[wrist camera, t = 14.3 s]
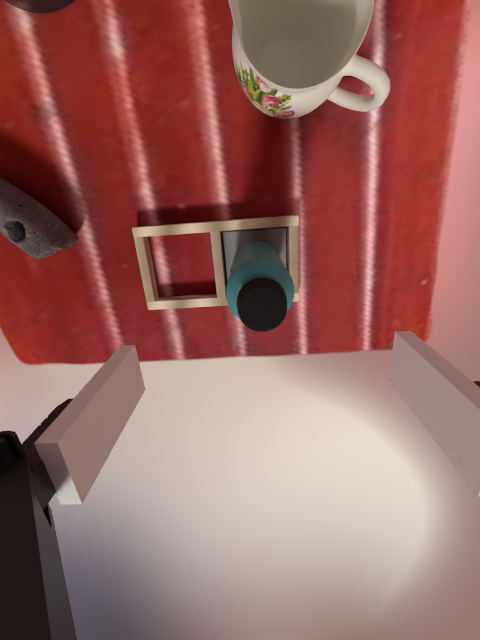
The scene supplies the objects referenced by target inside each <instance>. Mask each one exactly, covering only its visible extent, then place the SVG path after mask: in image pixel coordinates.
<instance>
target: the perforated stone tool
mask: <svg viewBox="0 0 480 640" xmlns="http://www.w3.org/2000/svg"><path fill="white" fill-rule="evenodd" d="M0 232H1V233H2V234H3V235H4V236H5V237H6V238H7V239H9V240H10V241H11V242H12V243H14V244H15V245H16V246H18V247H19V248H20V249H22V250H23V251H24V252H26V253H27V254H28V255H30V256H32V257H35V258H36V259H41V258H44V257H48V256H51V255H52V254H54V253H55V252H56V251H58V250H64V249H66V248H67V247H72V244H74V243H76V242H77V241H78V239H79V237H78V236H77V235H76V234H75V233H74V232H73V231H72V230H71V229H70V228H69V227H68V226H67V225H66V224H65V223H64V222H63V221H62V220H61V219H59V218H58V217H57V216H56V215H55V214H53V213H52V212H51V211H50V210H48V209H47V208H46V207H44V206H43V205H42V204H40V203H39V202H38V201H36V200H35V199H33V198H32V197H31V196H29V195H28V194H26V193H24V192H23V191H21V190H20V189H18V188H17V187H15V186H14V185H12V184H11V183H9V182H7V181H6V180H4V179H2V178H0Z"/></svg>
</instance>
